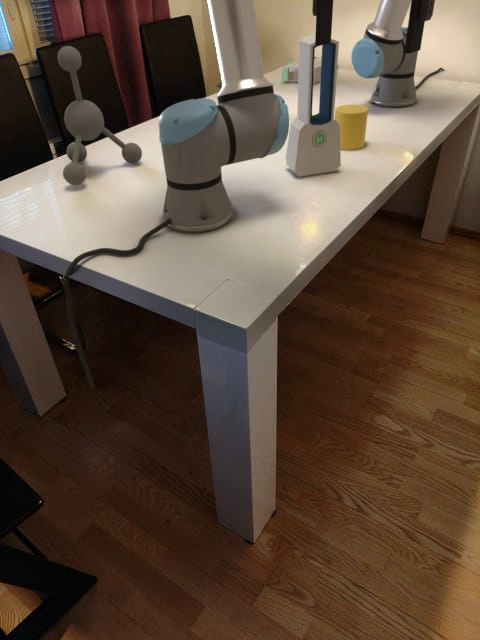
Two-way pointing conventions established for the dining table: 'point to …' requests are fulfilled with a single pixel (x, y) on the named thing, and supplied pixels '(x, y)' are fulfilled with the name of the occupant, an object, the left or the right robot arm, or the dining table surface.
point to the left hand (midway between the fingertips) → (364, 47)
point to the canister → (352, 125)
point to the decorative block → (292, 71)
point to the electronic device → (315, 130)
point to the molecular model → (85, 123)
